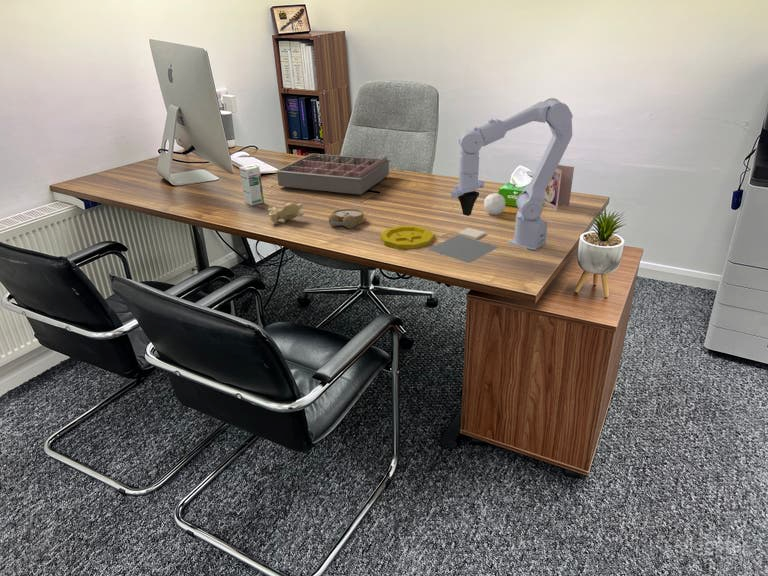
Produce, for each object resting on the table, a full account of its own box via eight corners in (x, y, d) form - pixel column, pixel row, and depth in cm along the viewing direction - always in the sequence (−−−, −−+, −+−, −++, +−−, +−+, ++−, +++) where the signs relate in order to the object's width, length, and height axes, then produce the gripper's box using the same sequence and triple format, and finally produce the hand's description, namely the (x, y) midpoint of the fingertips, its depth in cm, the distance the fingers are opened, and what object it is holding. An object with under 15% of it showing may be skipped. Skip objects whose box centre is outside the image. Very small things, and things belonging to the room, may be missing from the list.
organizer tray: (312, 170, 265) (311, 149, 260) (391, 177, 251) (391, 155, 247) (276, 189, 239) (273, 166, 234) (361, 198, 225) (360, 174, 220)
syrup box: (251, 205, 219) (246, 169, 213) (244, 202, 223) (239, 166, 217) (264, 202, 223) (259, 166, 216) (256, 199, 226) (252, 163, 220)
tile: (475, 242, 183) (485, 236, 187) (476, 237, 182) (485, 232, 186) (457, 237, 187) (467, 231, 191) (458, 232, 186) (468, 227, 190)
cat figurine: (267, 203, 202) (298, 193, 201) (275, 218, 207) (306, 208, 206) (266, 217, 196) (298, 206, 195) (275, 232, 201) (306, 222, 200)
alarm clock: (368, 210, 203) (352, 216, 190) (368, 223, 205) (352, 231, 191) (340, 207, 207) (322, 213, 193) (339, 220, 208) (322, 227, 195)
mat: (498, 248, 176) (499, 247, 176) (469, 264, 166) (469, 263, 166) (457, 236, 186) (457, 234, 186) (427, 250, 176) (427, 249, 176)
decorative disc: (413, 254, 174) (412, 249, 173) (370, 241, 184) (370, 236, 183) (443, 238, 186) (443, 233, 185) (402, 227, 196) (401, 222, 195)
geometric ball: (497, 219, 207) (512, 202, 204) (491, 218, 200) (506, 201, 197) (483, 206, 209) (497, 189, 206) (476, 205, 202) (491, 187, 199)
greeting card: (537, 201, 216) (542, 163, 209) (554, 199, 218) (559, 161, 211) (554, 210, 206) (559, 170, 200) (572, 208, 208) (577, 168, 202)
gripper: (472, 165, 176) (469, 206, 183) (443, 174, 167) (442, 218, 173) (490, 168, 172) (488, 210, 178) (462, 179, 163) (460, 223, 169)
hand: (466, 214), depth 176 cm, fingers closed
